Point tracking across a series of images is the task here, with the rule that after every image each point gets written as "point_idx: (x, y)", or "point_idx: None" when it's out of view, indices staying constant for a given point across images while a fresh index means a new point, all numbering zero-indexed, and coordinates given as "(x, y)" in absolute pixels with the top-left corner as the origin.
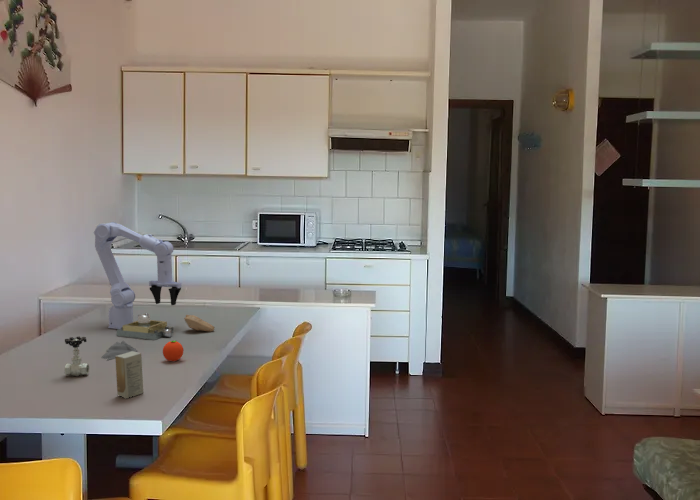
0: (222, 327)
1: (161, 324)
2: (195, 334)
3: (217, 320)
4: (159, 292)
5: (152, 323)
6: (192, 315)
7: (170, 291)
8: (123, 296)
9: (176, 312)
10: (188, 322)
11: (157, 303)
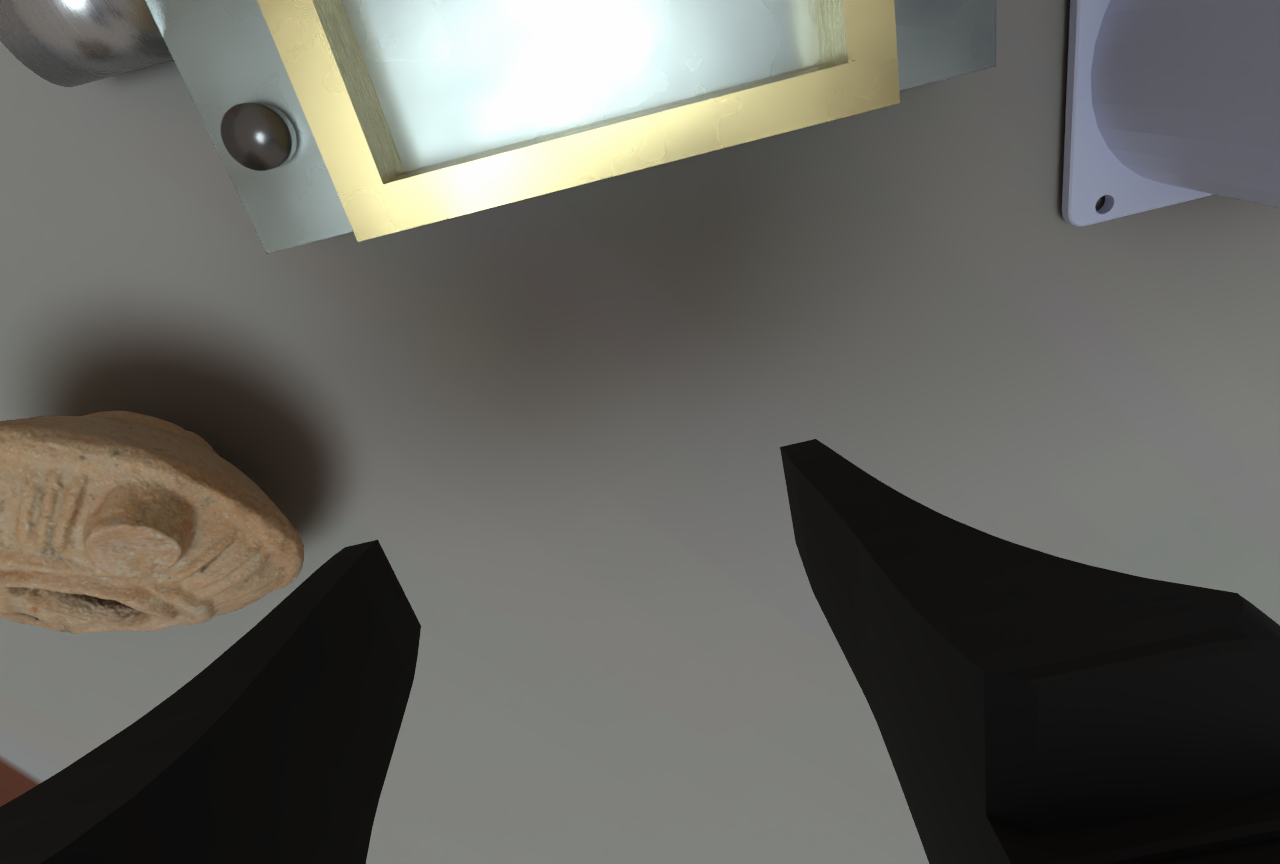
0: None
1: (295, 70)
2: (34, 365)
3: (493, 838)
4: (901, 757)
5: (621, 118)
6: (22, 558)
7: (36, 833)
8: None
9: None
10: (45, 417)
11: (785, 466)
